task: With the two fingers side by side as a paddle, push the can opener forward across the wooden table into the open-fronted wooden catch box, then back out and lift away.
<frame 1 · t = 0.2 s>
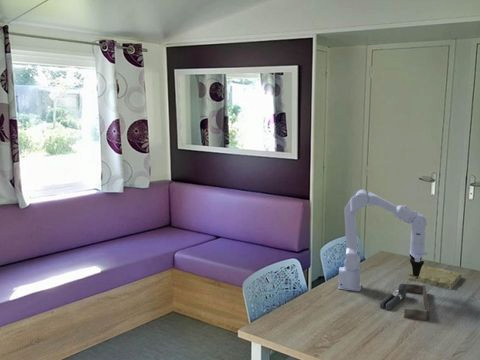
hand: (415, 272, 209), 10 cm above the table, tool pointing down, fingers open, 7 cm apart
decorative tile: (433, 280, 230), on the table
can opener: (393, 303, 204), on the table
catch box: (415, 304, 202), on the table
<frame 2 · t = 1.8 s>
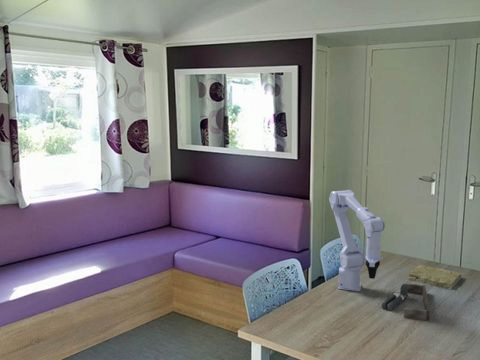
hand: (372, 278, 205), 9 cm above the table, tool pointing down, fingers closed
nothing on the table moved.
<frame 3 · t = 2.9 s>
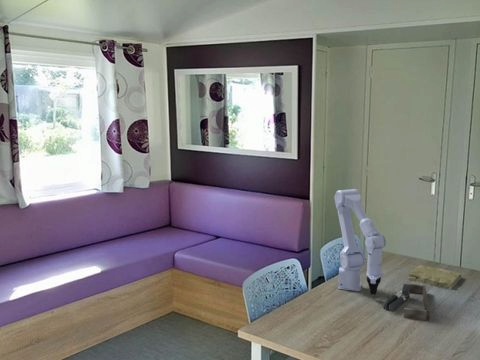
hand: (373, 294, 206), 2 cm above the table, tool pointing down, fingers closed
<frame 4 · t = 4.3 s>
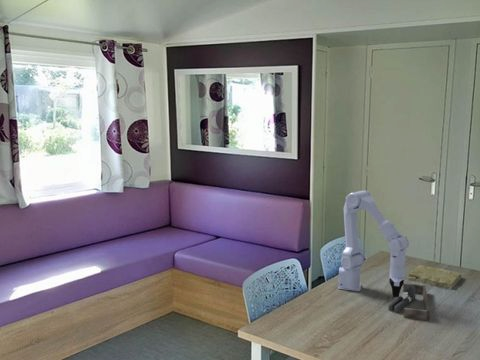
hand: (395, 296, 203), 2 cm above the table, tool pointing down, fingers closed
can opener: (402, 305, 202), on the table, touching gripper
everything else where it was.
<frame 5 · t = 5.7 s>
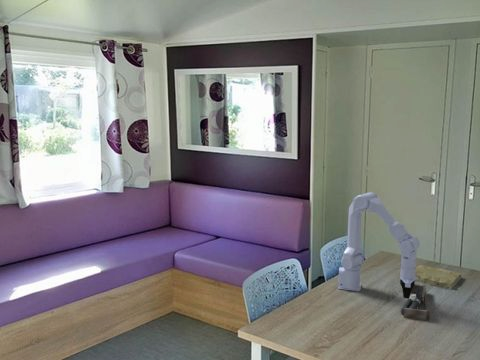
hand: (406, 297, 202), 2 cm above the table, tool pointing down, fingers closed
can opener: (412, 308, 199), on the table
everything else where it was.
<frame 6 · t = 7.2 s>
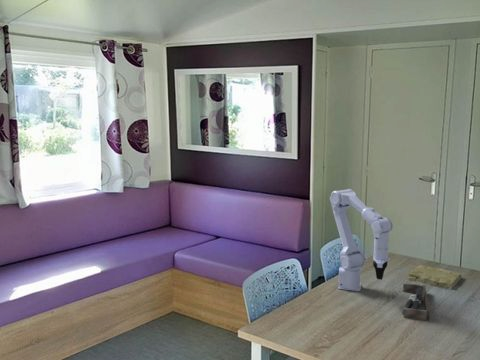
hand: (379, 278, 204), 9 cm above the table, tool pointing down, fingers closed
nothing on the table moved.
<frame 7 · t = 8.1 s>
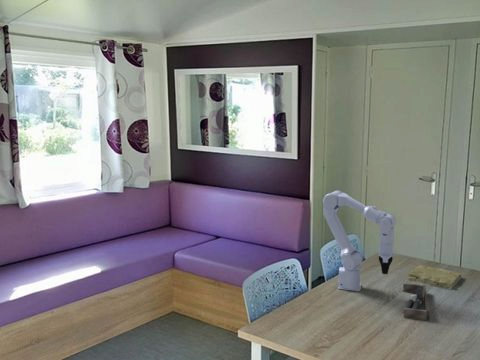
hand: (384, 273, 210), 9 cm above the table, tool pointing down, fingers closed
nothing on the table moved.
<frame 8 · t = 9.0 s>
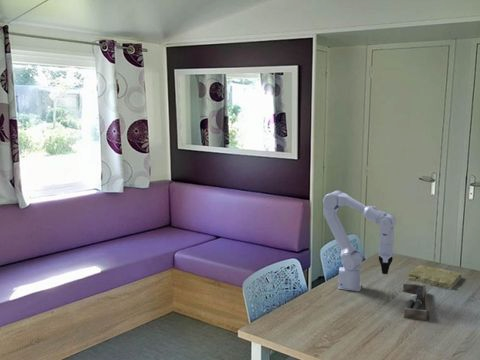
hand: (384, 273, 210), 9 cm above the table, tool pointing down, fingers closed
nothing on the table moved.
at the end: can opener inside the target area (3.4 cm from its centre), on the table; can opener tilted 0°; the gripper is holding nothing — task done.
